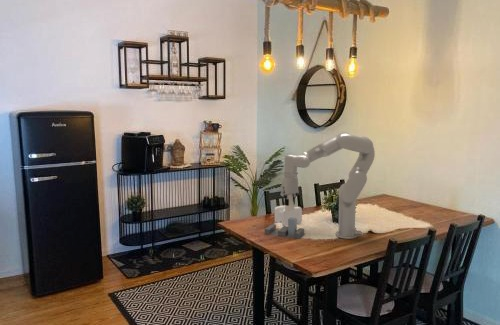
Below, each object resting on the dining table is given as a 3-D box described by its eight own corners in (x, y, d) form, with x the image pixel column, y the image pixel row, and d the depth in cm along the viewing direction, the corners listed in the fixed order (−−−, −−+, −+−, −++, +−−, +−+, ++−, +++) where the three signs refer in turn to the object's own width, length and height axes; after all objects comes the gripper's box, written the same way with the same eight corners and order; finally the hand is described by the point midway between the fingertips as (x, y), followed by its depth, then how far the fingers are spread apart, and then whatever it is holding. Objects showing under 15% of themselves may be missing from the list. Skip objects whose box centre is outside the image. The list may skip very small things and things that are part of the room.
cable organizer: (282, 227, 249) (282, 210, 247) (274, 223, 258) (274, 206, 257) (302, 224, 256) (302, 206, 254) (293, 220, 265) (293, 203, 263)
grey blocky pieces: (305, 235, 234) (305, 228, 234) (300, 240, 225) (300, 234, 225) (270, 230, 244) (270, 224, 244) (263, 235, 236) (263, 228, 235)
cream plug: (290, 210, 238) (288, 194, 239) (294, 210, 235) (292, 193, 236) (285, 211, 236) (283, 194, 237) (289, 211, 233) (287, 194, 234)
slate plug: (296, 234, 234) (296, 218, 232) (294, 236, 230) (294, 219, 228) (290, 233, 235) (290, 217, 234) (288, 235, 232) (288, 219, 230)
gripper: (297, 172, 240) (296, 201, 243) (275, 175, 231) (274, 205, 234) (305, 174, 234) (304, 204, 237) (283, 177, 225) (282, 208, 228)
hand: (289, 204), depth 235 cm, fingers closed on cream plug, 4 cm apart
